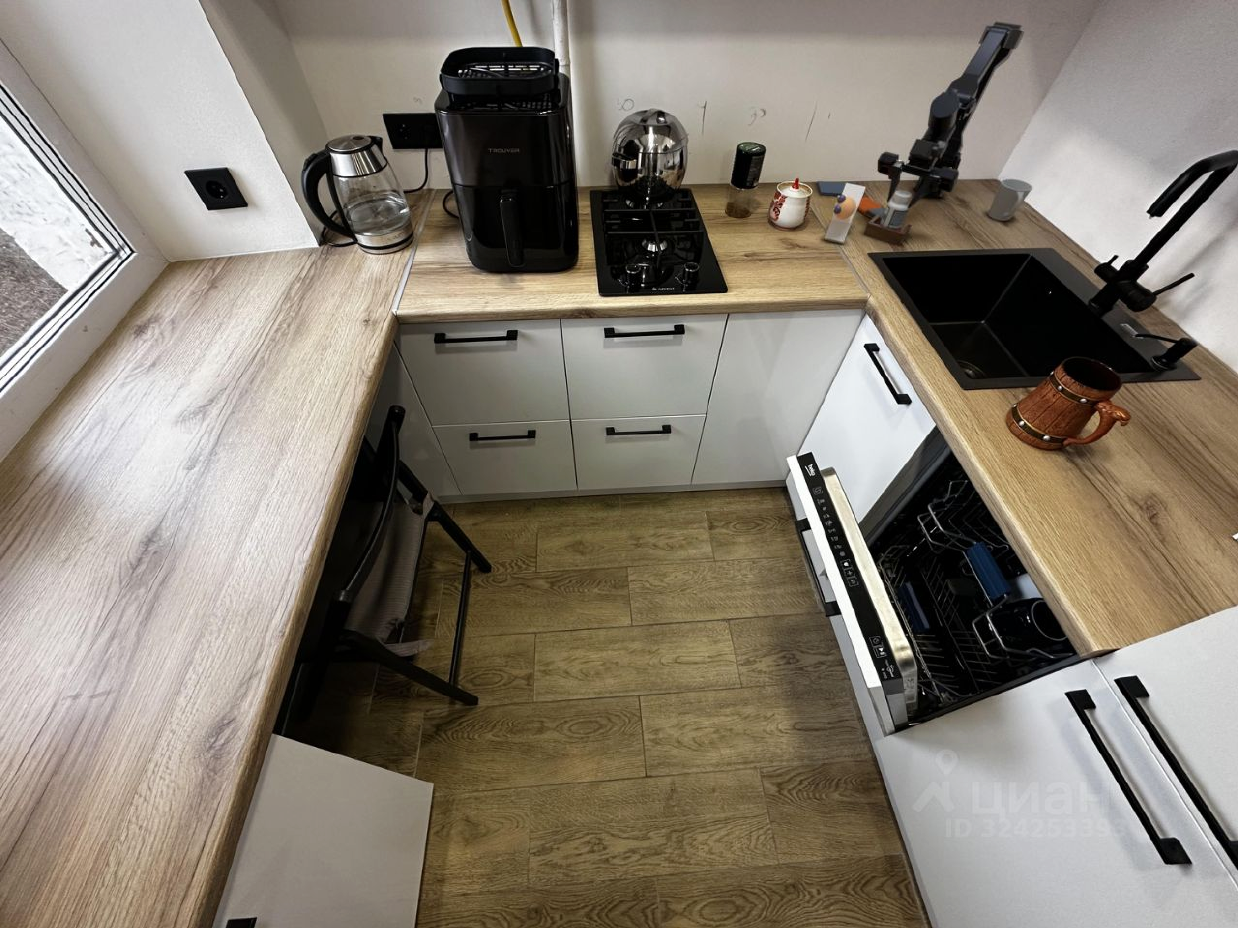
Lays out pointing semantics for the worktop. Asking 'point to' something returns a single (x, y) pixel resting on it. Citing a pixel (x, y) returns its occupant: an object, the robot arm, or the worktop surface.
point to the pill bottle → (896, 210)
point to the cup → (1009, 198)
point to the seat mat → (832, 188)
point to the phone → (871, 208)
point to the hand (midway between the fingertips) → (897, 204)
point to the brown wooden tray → (886, 232)
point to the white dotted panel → (844, 212)
